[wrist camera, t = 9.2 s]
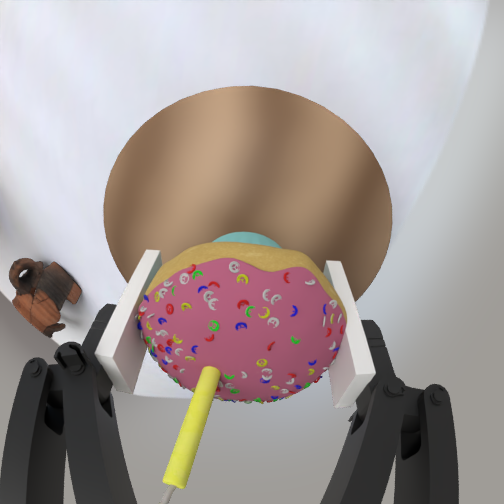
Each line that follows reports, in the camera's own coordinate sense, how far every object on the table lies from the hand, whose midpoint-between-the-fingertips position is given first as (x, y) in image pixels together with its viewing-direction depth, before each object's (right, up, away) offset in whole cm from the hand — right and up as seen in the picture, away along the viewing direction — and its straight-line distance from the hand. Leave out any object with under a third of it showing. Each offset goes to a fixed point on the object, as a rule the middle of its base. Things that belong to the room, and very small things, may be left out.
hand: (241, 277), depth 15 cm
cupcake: (0, +1, +1) cm, 1 cm away
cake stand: (0, +6, +10) cm, 11 cm away
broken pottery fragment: (-26, -2, +17) cm, 31 cm away
